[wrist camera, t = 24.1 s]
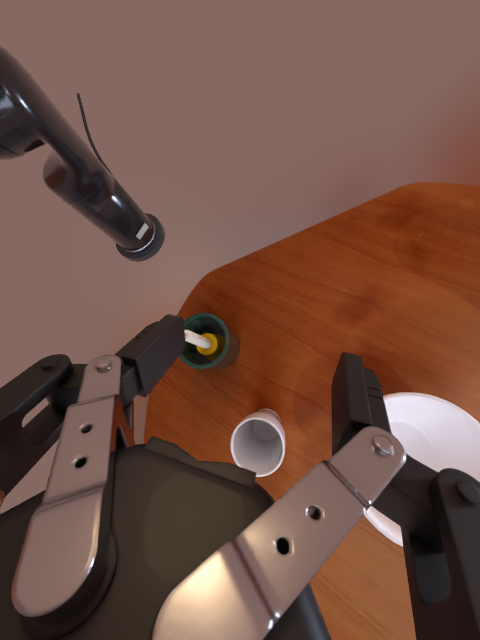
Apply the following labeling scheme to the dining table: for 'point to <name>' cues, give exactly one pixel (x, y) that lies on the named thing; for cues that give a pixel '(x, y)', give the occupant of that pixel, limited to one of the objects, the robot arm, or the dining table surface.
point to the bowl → (430, 441)
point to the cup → (213, 326)
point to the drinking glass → (259, 442)
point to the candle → (207, 343)
